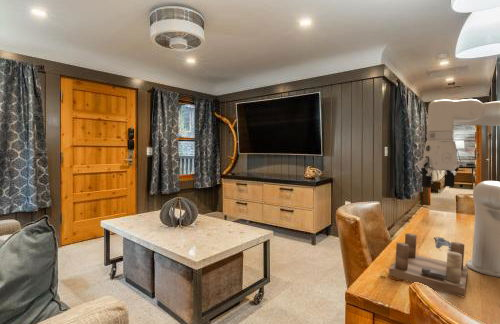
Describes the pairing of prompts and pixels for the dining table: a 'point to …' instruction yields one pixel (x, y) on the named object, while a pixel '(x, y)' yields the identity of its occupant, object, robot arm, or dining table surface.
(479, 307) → the dining table surface
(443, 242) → the driftwood
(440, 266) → the stool
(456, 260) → the hinged leg
